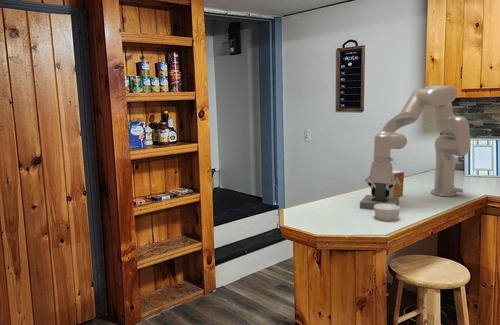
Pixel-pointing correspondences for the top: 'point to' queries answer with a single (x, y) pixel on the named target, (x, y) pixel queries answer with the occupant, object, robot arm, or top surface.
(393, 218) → the ramekin
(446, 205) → the top surface
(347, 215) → the top surface
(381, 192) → the plug
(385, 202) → the socket block
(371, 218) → the top surface
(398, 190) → the small box
